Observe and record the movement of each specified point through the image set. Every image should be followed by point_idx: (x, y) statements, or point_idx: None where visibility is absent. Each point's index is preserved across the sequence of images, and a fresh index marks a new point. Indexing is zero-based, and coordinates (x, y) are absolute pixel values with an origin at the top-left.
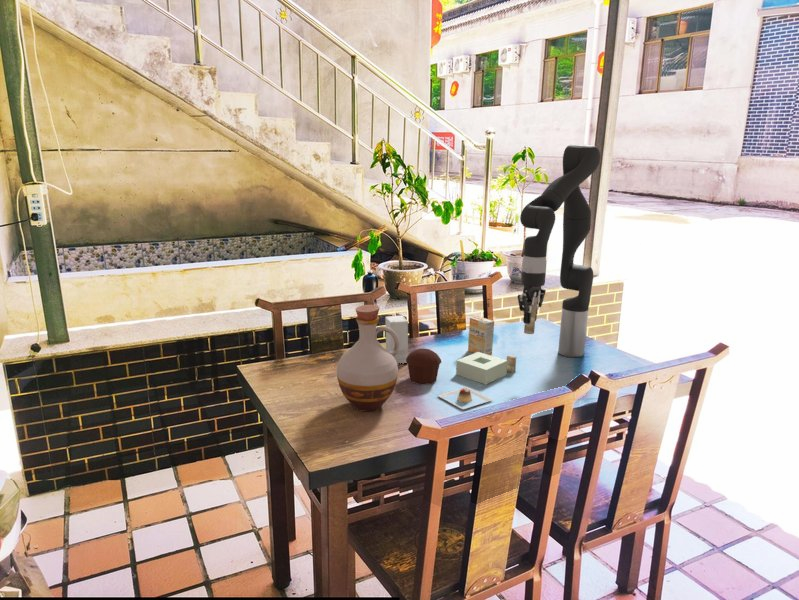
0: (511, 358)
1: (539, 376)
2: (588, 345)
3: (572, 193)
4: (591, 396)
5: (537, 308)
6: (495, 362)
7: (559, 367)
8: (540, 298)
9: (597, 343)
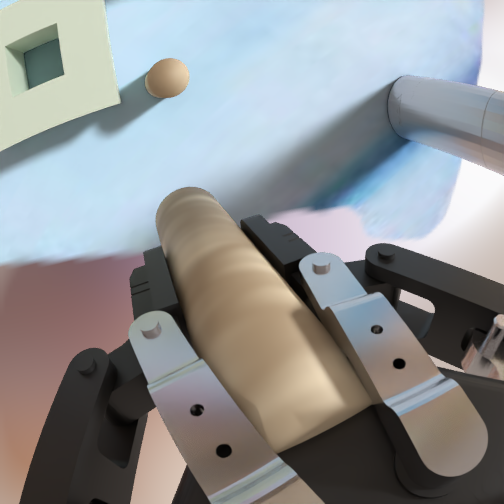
0: (154, 91)
1: (207, 169)
2: None
3: None
4: None
5: None
6: (61, 100)
7: (314, 150)
8: (430, 345)
9: None
